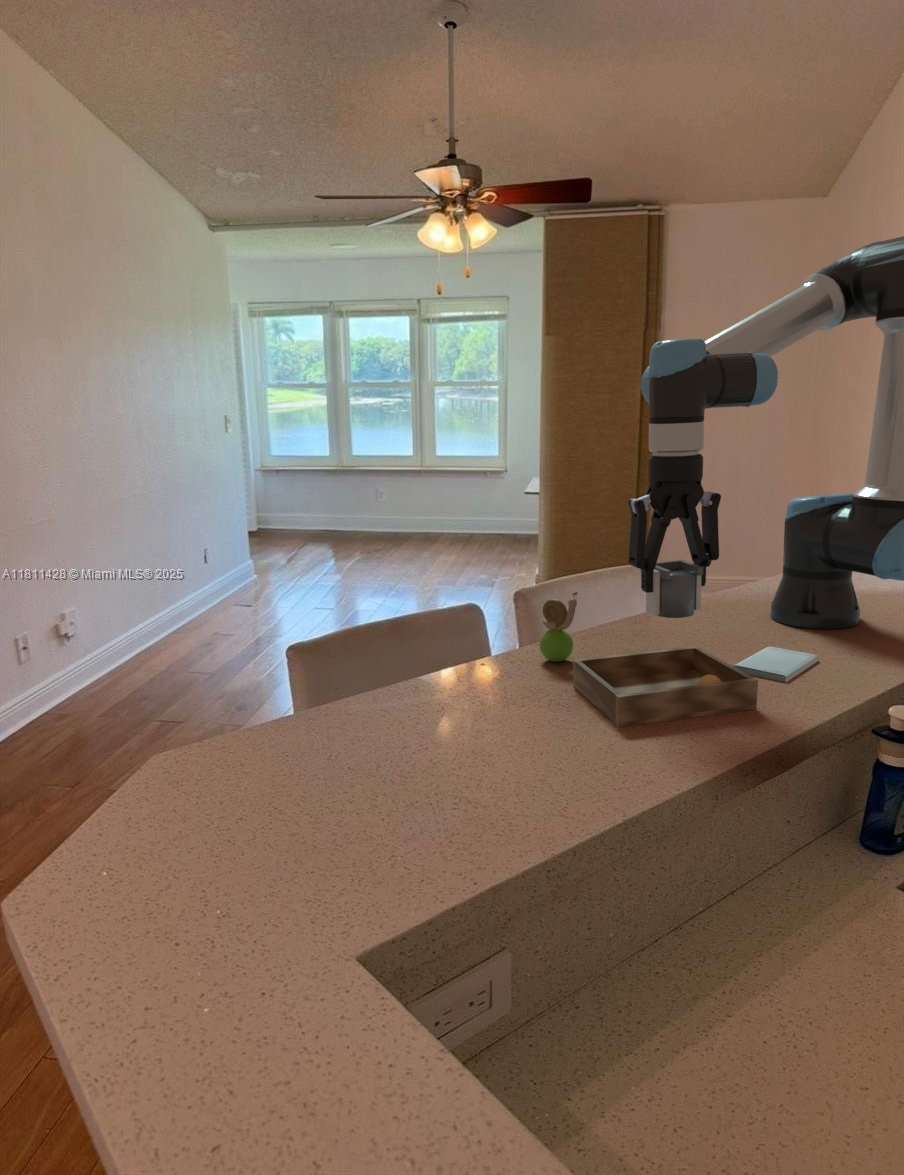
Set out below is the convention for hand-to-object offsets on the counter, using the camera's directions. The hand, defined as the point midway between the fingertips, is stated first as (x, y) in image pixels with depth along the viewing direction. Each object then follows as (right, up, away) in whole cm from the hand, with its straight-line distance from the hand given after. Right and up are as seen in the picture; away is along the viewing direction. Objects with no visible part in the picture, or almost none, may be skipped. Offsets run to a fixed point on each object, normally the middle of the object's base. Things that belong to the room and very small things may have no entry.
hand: (673, 610), depth 118 cm
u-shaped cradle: (0, 0, 0) cm, 0 cm away
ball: (+3, -10, -8) cm, 13 cm away
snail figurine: (-15, -9, +12) cm, 21 cm away
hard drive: (+17, -10, +6) cm, 21 cm away
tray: (-3, -12, -5) cm, 14 cm away
